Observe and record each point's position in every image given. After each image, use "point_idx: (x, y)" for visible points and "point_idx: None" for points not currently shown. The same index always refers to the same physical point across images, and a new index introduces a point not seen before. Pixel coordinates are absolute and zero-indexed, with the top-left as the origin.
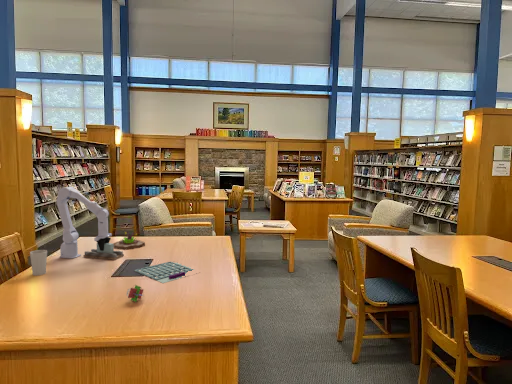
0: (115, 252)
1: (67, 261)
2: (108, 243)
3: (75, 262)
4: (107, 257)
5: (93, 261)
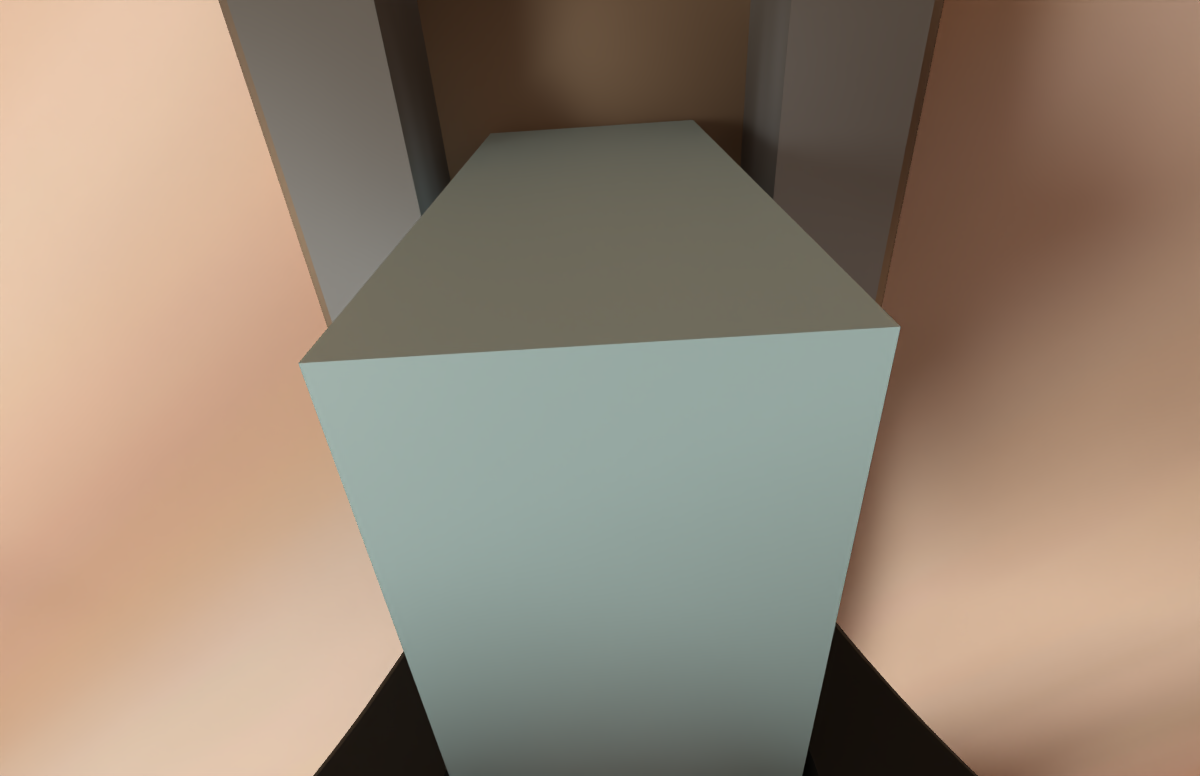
0: (404, 82)
1: (1088, 713)
2: (539, 699)
3: (1181, 595)
4: (925, 81)
5: (1136, 333)
